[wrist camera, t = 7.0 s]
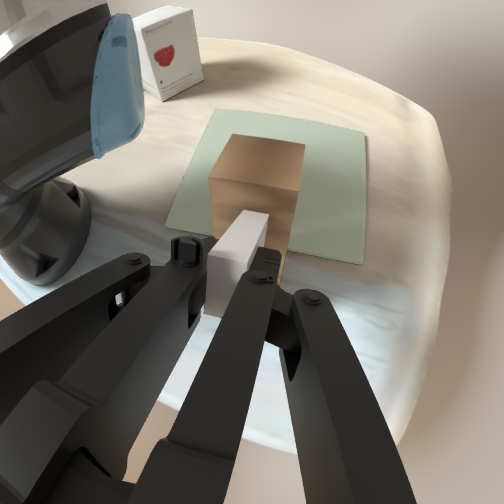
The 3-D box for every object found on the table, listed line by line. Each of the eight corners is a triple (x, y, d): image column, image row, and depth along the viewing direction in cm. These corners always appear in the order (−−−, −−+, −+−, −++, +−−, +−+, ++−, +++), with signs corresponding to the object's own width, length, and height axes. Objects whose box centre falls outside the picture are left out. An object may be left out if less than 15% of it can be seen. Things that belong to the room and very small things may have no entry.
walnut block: (222, 295, 26) (207, 176, 15) (235, 254, 29) (232, 133, 18) (274, 306, 26) (298, 191, 14) (282, 263, 28) (305, 144, 17)
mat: (166, 227, 30) (164, 225, 30) (215, 111, 37) (215, 108, 37) (361, 265, 28) (363, 263, 28) (363, 135, 35) (364, 132, 35)
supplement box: (162, 103, 39) (138, 29, 25) (140, 88, 42) (118, 24, 28) (206, 80, 41) (193, 7, 27) (180, 66, 44) (166, 4, 30)
